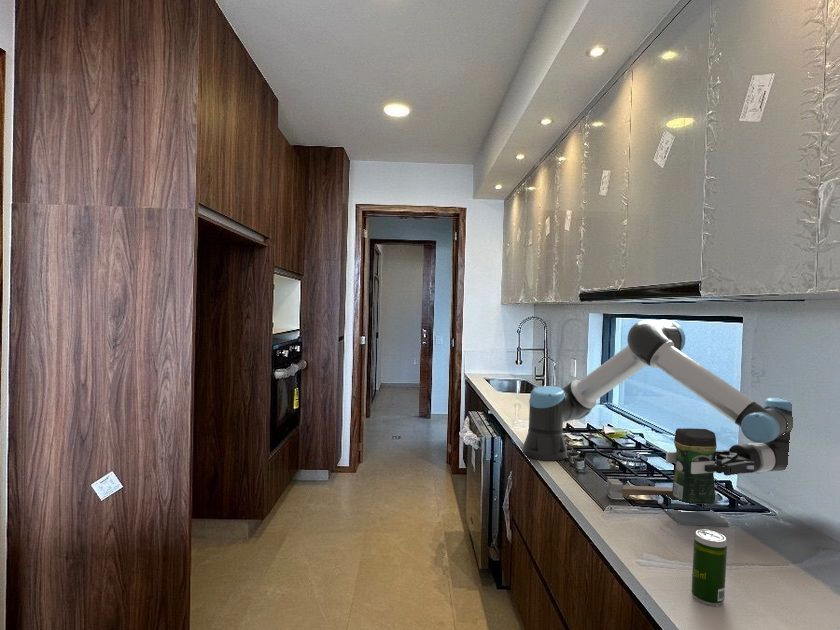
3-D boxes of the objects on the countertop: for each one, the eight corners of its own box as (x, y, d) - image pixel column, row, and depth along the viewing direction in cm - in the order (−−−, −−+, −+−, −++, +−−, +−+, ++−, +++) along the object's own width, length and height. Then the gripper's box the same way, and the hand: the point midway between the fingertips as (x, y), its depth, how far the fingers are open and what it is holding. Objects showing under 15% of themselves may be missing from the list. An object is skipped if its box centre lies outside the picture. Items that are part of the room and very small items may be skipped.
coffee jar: (703, 494, 143) (706, 425, 142) (719, 506, 135) (723, 433, 134) (667, 493, 143) (669, 424, 142) (681, 505, 135) (684, 432, 134)
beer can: (728, 599, 99) (731, 536, 99) (717, 610, 96) (721, 544, 95) (697, 587, 103) (700, 526, 103) (686, 597, 99) (689, 534, 99)
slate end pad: (657, 503, 146) (657, 501, 145) (702, 505, 145) (702, 502, 145) (679, 524, 133) (679, 521, 132) (728, 526, 132) (728, 523, 132)
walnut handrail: (606, 494, 151) (607, 478, 151) (692, 498, 151) (693, 482, 151) (611, 499, 147) (612, 483, 147) (699, 503, 147) (700, 487, 147)
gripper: (785, 485, 133) (710, 491, 127) (717, 460, 153) (650, 464, 147) (787, 455, 133) (712, 460, 127) (719, 434, 153) (651, 437, 147)
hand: (679, 462), depth 137 cm, fingers closed on coffee jar, 8 cm apart
